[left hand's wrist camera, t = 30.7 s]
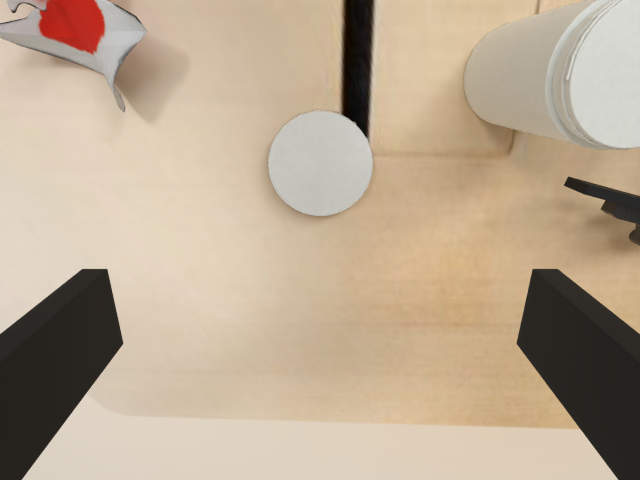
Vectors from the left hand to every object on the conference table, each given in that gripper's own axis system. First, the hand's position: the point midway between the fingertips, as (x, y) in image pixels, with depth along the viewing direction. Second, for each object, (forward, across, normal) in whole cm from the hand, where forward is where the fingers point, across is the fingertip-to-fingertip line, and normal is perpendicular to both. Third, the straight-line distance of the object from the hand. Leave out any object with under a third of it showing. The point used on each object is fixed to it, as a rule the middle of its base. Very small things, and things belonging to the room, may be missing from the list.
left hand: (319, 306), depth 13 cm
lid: (+24, 0, 0) cm, 24 cm away
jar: (+26, +16, +7) cm, 31 cm away
